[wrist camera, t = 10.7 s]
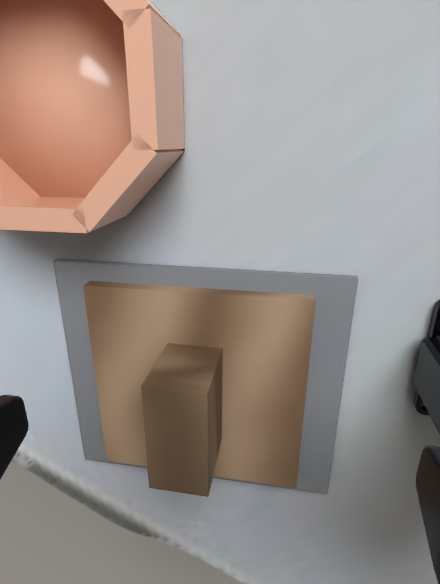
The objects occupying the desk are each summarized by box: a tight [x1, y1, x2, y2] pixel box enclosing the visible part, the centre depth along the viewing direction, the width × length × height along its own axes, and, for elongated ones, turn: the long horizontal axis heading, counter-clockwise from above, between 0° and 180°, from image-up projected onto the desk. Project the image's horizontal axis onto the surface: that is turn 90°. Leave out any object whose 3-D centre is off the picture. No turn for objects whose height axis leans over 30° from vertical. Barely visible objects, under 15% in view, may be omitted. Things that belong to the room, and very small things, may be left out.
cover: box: [83, 281, 316, 497], centre depth 20 cm, size 12×12×5 cm
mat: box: [53, 259, 358, 494], centre depth 22 cm, size 16×14×1 cm
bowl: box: [0, 0, 185, 233], centre depth 16 cm, size 11×11×4 cm
